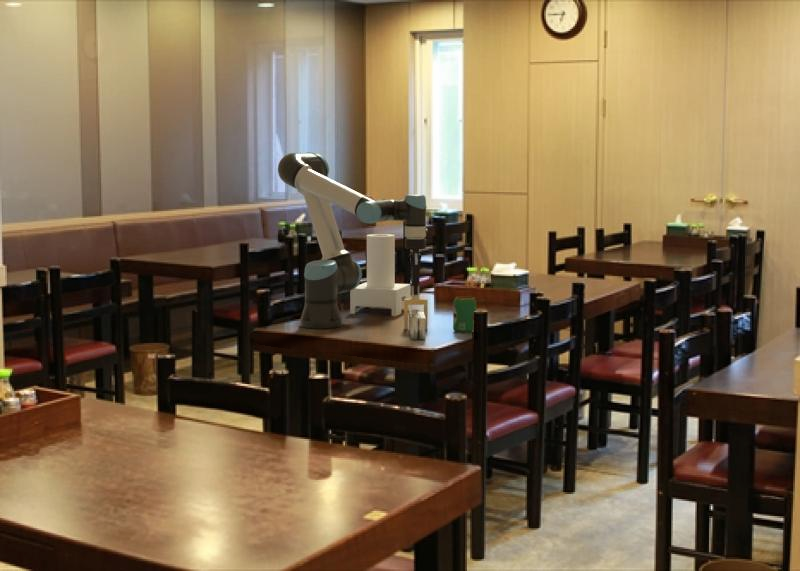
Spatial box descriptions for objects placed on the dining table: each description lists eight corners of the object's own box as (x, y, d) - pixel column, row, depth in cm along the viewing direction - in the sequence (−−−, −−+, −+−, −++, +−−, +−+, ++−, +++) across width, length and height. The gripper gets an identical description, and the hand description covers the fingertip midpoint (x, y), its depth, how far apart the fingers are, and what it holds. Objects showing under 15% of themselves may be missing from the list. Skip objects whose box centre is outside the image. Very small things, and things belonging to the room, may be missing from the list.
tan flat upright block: (404, 328, 408) (404, 298, 407) (427, 328, 409) (427, 298, 407) (404, 329, 406) (404, 299, 405) (427, 329, 406) (427, 299, 405)
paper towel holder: (350, 313, 444) (349, 236, 440) (366, 306, 462) (365, 232, 458) (396, 316, 438) (396, 238, 434) (410, 309, 456) (410, 233, 452)
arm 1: (409, 330, 404) (409, 310, 403) (415, 330, 404) (415, 310, 403) (411, 339, 386) (411, 319, 385) (418, 339, 386) (418, 319, 385)
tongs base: (408, 328, 409) (408, 309, 408) (422, 328, 409) (422, 309, 408) (409, 330, 406) (409, 310, 405) (422, 330, 406) (422, 310, 405)
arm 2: (416, 330, 404) (416, 310, 403) (423, 330, 404) (423, 310, 403) (418, 339, 386) (418, 319, 385) (425, 339, 386) (425, 319, 385)
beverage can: (451, 329, 407) (452, 296, 405) (474, 329, 407) (474, 296, 406) (454, 333, 399) (454, 299, 397) (477, 333, 399) (477, 299, 398)
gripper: (427, 239, 401) (426, 306, 404) (425, 236, 414) (424, 300, 417) (405, 239, 401) (405, 306, 404) (404, 236, 414) (404, 301, 417)
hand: (415, 303), depth 411 cm, fingers closed
